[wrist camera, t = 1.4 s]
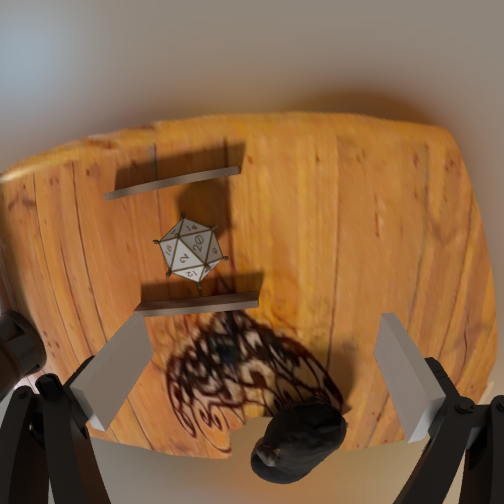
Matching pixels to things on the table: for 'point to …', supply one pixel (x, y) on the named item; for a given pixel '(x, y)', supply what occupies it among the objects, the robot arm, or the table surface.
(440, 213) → the table surface
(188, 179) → the walnut channel
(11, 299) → the table surface
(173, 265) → the game die
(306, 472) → the black rounded lump
